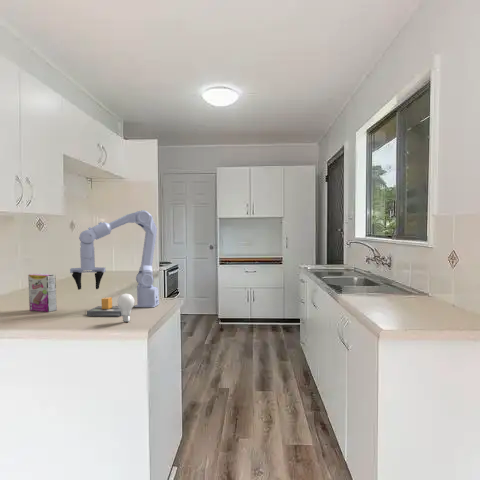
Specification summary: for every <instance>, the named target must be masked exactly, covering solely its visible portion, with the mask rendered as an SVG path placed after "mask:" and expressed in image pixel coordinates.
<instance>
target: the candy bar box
mask: <svg viewBox="0 0 480 480" xmlns="http://www.w3.org/2000/svg"><path fill="white" fill-rule="evenodd" d="M27 276H28V298H29V299H28V300H29V302H28V303H29V305H28V306H29V311H30V312H41V313H51V311H52V312H55V311H57V285H56V273H55V274H54V273H30V274H28V275H27Z"/></svg>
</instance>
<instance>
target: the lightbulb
mask: <svg viewBox="0 0 480 480" xmlns="http://www.w3.org/2000/svg"><path fill="white" fill-rule="evenodd" d="M116 302H117V303H116V304H117V306H118V307H119V308H120V309H121V312H122V314H123V315H122V321H123V322H124V323H129V322H130V321H131V312H132V310H131V309H133V307H134V306H135V298H134V296H133V295H132V294H130V293H122V294H121V295H119V297H118V298H117V301H116Z"/></svg>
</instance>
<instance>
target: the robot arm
mask: <svg viewBox="0 0 480 480" xmlns="http://www.w3.org/2000/svg"><path fill="white" fill-rule="evenodd" d="M133 223H134V224H136V225H138V226H139V227H141V229H143V231H144V232H145V234H144V242H143V247H142V256H141V264H140V267H139V269H138V272H137V274H136V276H135V280H136V283H138V284H137V286H136V295H137V296H136V298H137V302H136V303H137V304H136V305H135V304H134V306H133V307H134V308H156V307H157V306H158V305H160V298H159V297H160V296H159V295H160V294H159V292H160V291H159V288H158V286H154V285H153V284H154V276H153V274H154V272H153V262H154V255H155V247H156V246H155V245H156V242H157V241H156V239H157V232H158V227H157V226H156V223H155V220H154V218H153V215H152V214H151V213H150V212H149V211H147V210H145V209H143V210H139V211H138V210H137V211H135V212H131V213H127V214H125V215H123V216H121V217H119V218H117V219H115V220H113V221H110V222H106V221H103V222H102V221H100V222H98V224H97V225H94V226H92V227H87V228H88V229H85V230H83V231H82V232H80V234H79V236H78V239H79V241H80V243H79V245H80V247H79V248H80V249H79V250H80V251H79V253H80V254H79V255H80V267H71V268H69V274H71V277H72V278H73V279H74V281H75V284H76V287H77V290H82V275H83V273H94V277H95V278H94V279H95V290H99V289H100V284H101V280H102V279H103V276H104V273H106V266H105V267H104V266H103V267H101V266H100V267H95V266H96V261H95V246H94V245H95V243H94V242H95V240H99V239H102V238H104V237H106V236H108V235H110V234H111V232H112V230H114V229H116V228H119V227H121V226H124V225H126V224H133Z"/></svg>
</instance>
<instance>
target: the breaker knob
mask: <svg viewBox="0 0 480 480" xmlns="http://www.w3.org/2000/svg"><path fill="white" fill-rule="evenodd" d="M101 306H102V309H110V308H112V306H113V297H106V296H105V297H103V298H101Z"/></svg>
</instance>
